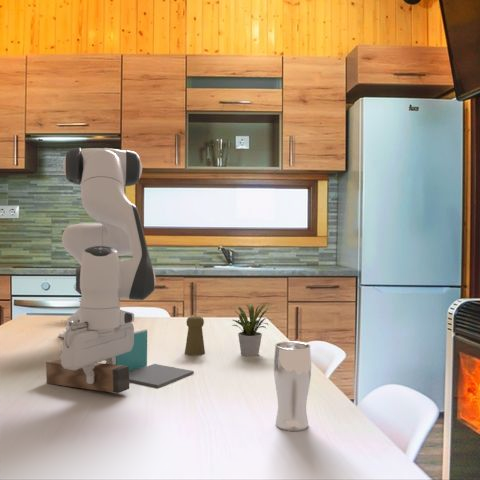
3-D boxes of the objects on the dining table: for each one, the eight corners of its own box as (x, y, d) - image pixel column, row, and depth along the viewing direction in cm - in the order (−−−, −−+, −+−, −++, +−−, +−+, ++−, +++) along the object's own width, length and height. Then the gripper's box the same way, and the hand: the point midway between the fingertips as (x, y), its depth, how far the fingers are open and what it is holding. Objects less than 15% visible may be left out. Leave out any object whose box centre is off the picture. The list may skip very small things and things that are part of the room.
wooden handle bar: (46, 383, 116) (45, 362, 116) (58, 379, 119) (57, 358, 119) (118, 393, 105) (117, 370, 106) (129, 388, 109) (128, 366, 109)
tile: (107, 375, 123) (107, 335, 122) (140, 364, 133) (140, 328, 133) (115, 377, 121) (116, 337, 121) (147, 366, 131) (148, 329, 131)
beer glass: (270, 418, 95) (271, 341, 95) (306, 417, 95) (307, 341, 95) (276, 432, 88) (277, 349, 88) (314, 432, 88) (315, 349, 88)
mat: (116, 378, 120) (116, 376, 120) (154, 366, 132) (154, 363, 132) (158, 387, 113) (158, 385, 113) (193, 373, 125) (193, 370, 125)
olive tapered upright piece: (201, 355, 143) (202, 318, 143) (182, 354, 145) (182, 317, 144) (207, 351, 149) (207, 315, 149) (188, 350, 150) (188, 314, 150)
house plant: (283, 351, 150) (283, 298, 150) (271, 362, 137) (271, 304, 137) (239, 347, 155) (239, 295, 154) (223, 357, 142) (224, 301, 141)
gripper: (77, 328, 99) (76, 395, 99) (138, 313, 118) (138, 370, 118) (54, 325, 102) (53, 391, 102) (117, 311, 120) (117, 367, 121)
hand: (99, 379), depth 110 cm, fingers closed on wooden handle bar, 4 cm apart
